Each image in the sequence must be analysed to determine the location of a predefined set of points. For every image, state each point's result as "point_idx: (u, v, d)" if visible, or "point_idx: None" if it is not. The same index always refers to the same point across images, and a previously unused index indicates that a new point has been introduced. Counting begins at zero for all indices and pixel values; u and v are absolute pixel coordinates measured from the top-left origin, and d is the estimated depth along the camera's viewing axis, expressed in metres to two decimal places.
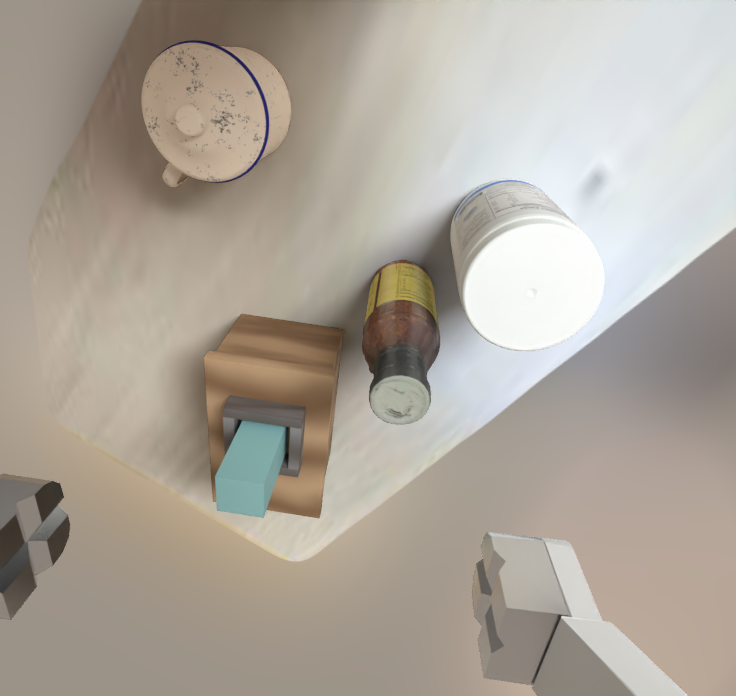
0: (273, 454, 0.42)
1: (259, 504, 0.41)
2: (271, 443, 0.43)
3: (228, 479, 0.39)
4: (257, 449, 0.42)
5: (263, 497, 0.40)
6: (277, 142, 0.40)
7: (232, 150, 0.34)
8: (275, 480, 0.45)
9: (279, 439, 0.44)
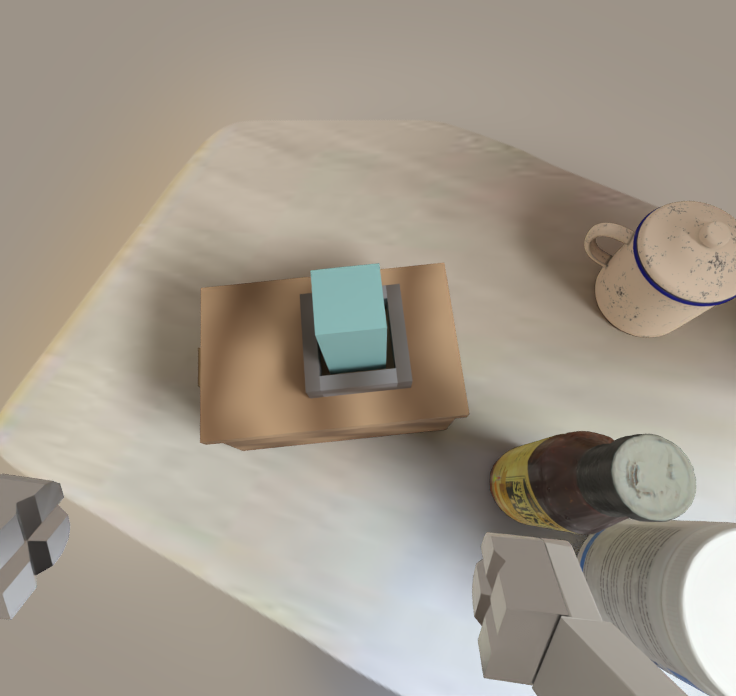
0: None
1: (342, 326, 0.27)
2: None
3: (379, 280, 0.28)
4: None
5: (358, 330, 0.27)
6: (644, 324, 0.43)
7: (689, 274, 0.37)
8: (328, 355, 0.31)
9: (385, 354, 0.32)
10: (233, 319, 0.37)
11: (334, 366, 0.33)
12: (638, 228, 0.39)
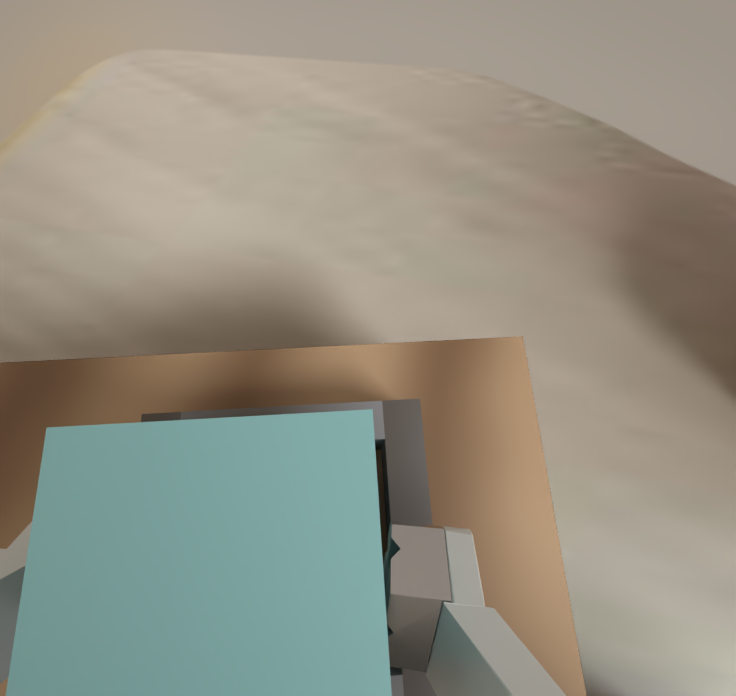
0: None
1: None
2: None
3: (369, 501, 0.06)
4: None
5: None
6: None
7: None
8: None
9: None
10: None
11: None
12: None
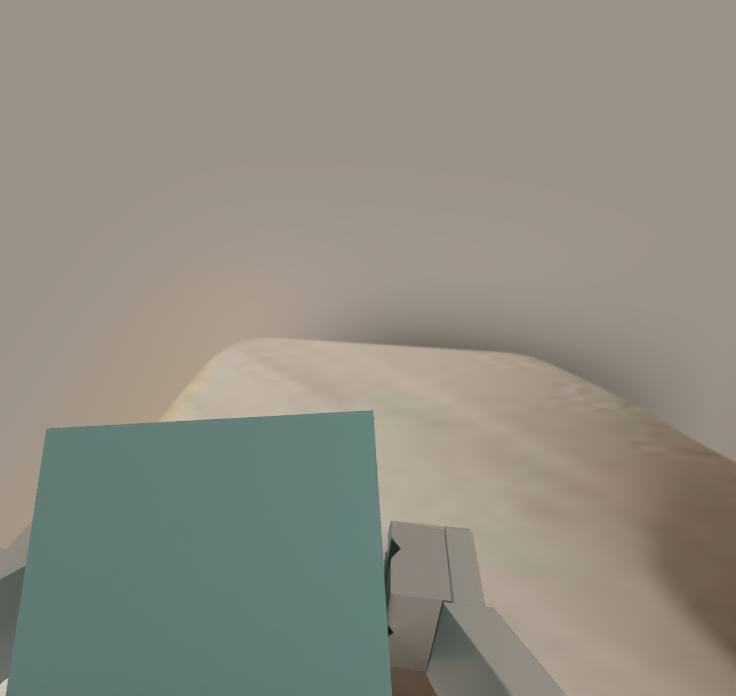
0: None
1: None
2: None
3: (370, 502, 0.06)
4: None
5: None
6: None
7: None
8: None
9: None
10: None
11: None
12: None
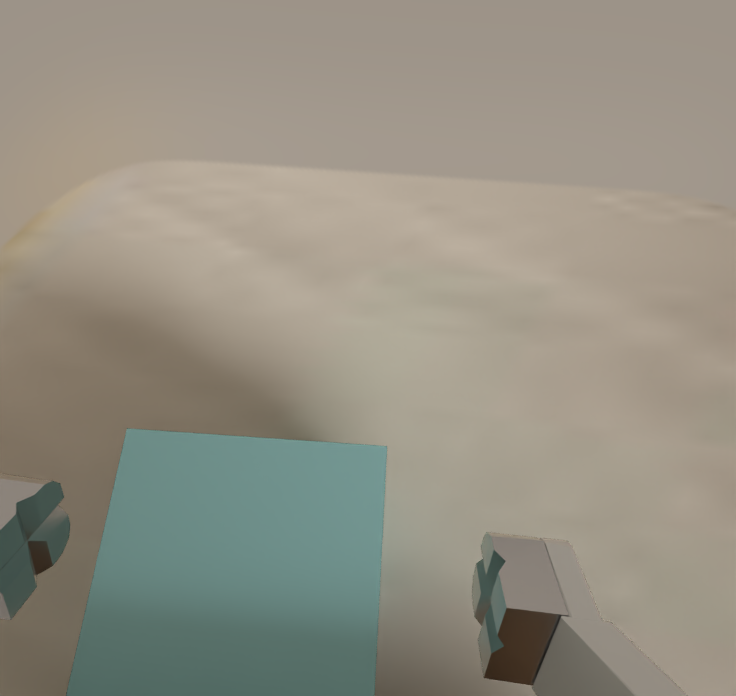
0: None
1: None
2: None
3: (375, 521, 0.07)
4: None
5: None
6: None
7: None
8: None
9: None
10: None
11: None
12: None
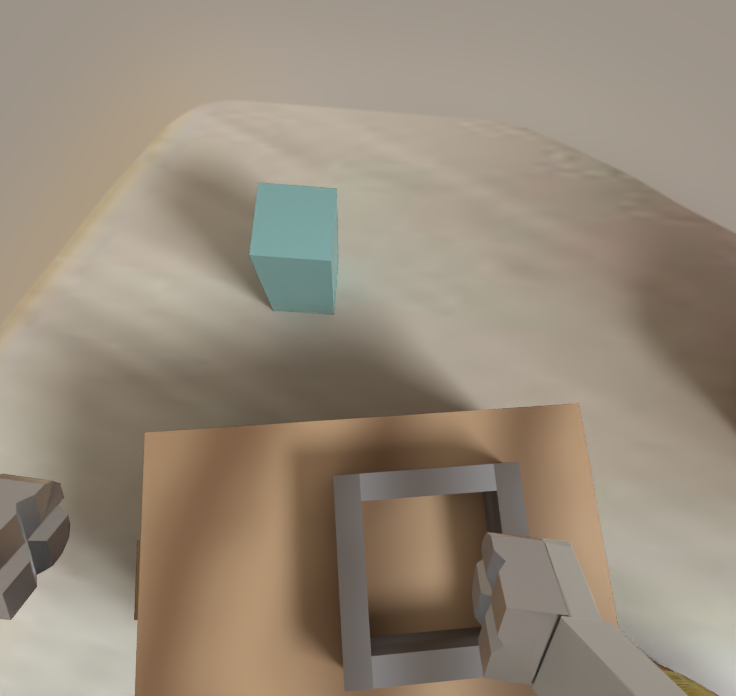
0: (332, 284, 0.27)
1: (281, 250, 0.24)
2: (333, 284, 0.29)
3: (332, 207, 0.25)
4: (334, 262, 0.28)
5: (298, 258, 0.24)
6: None
7: None
8: (268, 285, 0.28)
9: (332, 296, 0.29)
10: (204, 499, 0.20)
11: (276, 301, 0.30)
12: None
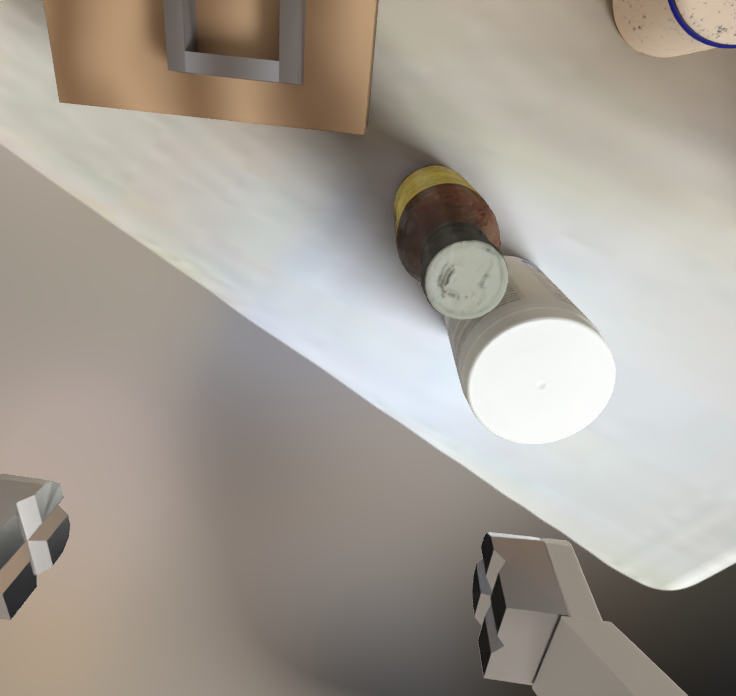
0: None
1: None
2: None
3: None
4: None
5: None
6: (646, 41, 0.32)
7: None
8: None
9: None
10: None
11: None
12: None
